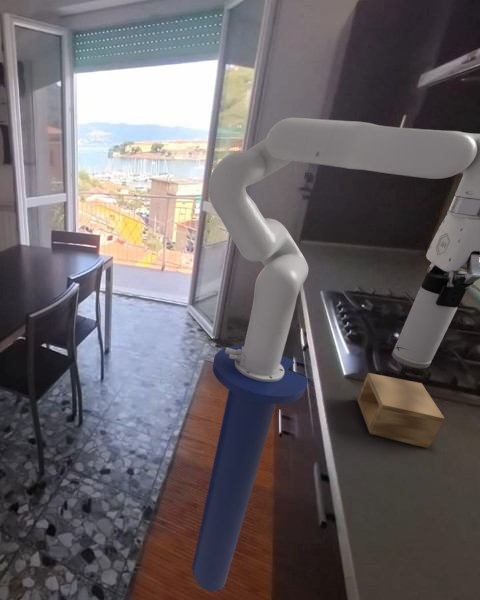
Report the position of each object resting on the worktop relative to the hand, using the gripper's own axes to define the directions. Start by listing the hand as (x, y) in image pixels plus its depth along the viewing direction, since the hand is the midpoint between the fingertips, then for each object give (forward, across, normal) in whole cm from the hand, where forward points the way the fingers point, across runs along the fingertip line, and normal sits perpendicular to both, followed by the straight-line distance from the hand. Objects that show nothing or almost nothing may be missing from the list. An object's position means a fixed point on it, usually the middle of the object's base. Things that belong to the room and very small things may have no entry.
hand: (437, 297), depth 71 cm
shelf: (+30, +4, 0) cm, 30 cm away
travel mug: (+15, 0, 0) cm, 15 cm away
